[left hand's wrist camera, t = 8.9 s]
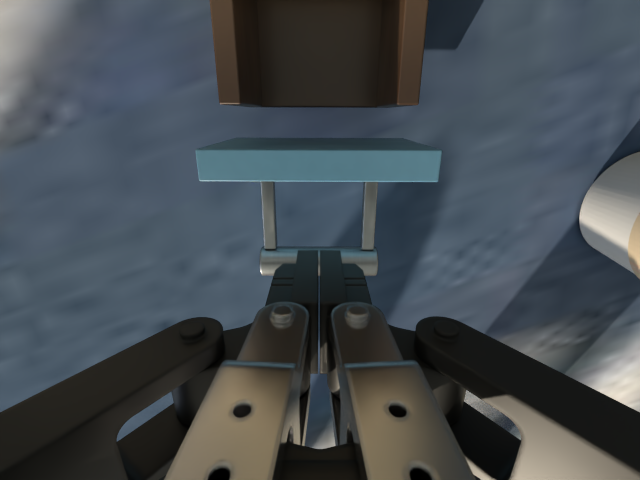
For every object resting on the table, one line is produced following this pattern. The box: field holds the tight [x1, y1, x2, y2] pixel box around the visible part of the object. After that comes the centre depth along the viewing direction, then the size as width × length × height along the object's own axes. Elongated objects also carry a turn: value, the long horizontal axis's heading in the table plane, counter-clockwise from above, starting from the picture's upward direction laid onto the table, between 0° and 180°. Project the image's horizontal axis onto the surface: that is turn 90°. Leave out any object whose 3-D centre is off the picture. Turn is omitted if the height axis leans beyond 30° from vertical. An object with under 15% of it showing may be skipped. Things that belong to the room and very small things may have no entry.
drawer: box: [196, 0, 442, 276], centre depth 14 cm, size 24×9×6 cm, turn 0°
